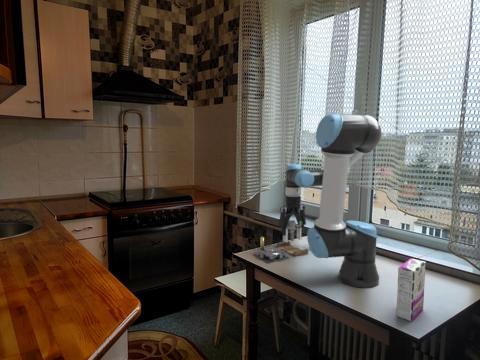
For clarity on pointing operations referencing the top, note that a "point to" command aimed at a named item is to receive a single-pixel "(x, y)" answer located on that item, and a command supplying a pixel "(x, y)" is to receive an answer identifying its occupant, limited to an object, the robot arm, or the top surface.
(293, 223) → the mechanical component
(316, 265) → the top surface
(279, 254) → the grey metal machine part
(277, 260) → the base
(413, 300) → the candy bar box
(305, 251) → the seat
